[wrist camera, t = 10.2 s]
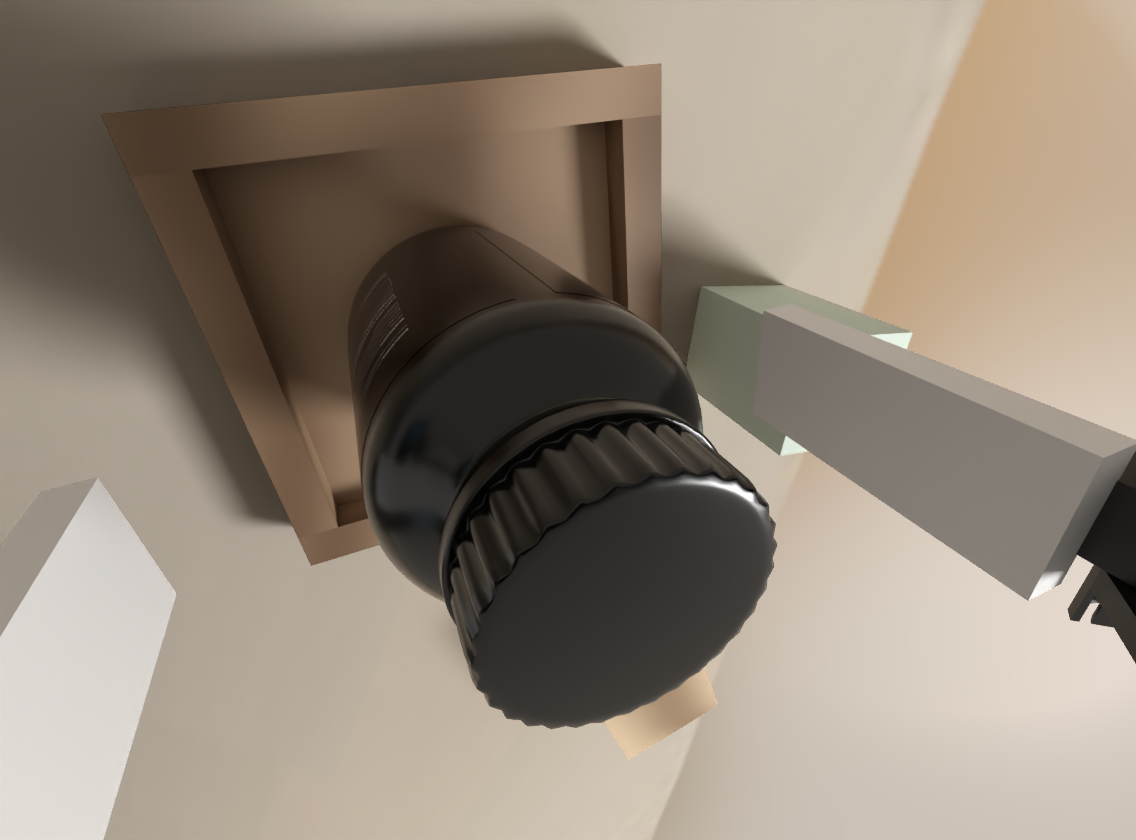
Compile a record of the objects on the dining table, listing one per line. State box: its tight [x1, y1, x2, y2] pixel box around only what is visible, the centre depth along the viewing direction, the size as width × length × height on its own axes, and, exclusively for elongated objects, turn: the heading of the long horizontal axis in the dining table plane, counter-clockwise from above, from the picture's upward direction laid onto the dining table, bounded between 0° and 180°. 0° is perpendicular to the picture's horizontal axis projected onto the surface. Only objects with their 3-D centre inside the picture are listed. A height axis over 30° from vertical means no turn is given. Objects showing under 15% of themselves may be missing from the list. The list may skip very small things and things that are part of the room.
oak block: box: [604, 667, 718, 760], centre depth 26 cm, size 5×5×5 cm
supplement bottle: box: [347, 226, 777, 729], centre depth 12 cm, size 7×7×12 cm
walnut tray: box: [101, 64, 661, 566], centre depth 17 cm, size 13×13×2 cm
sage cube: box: [686, 285, 913, 456], centre depth 20 cm, size 4×4×6 cm
